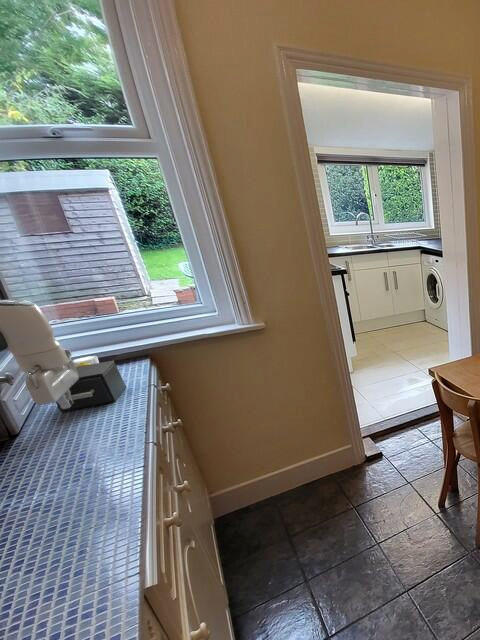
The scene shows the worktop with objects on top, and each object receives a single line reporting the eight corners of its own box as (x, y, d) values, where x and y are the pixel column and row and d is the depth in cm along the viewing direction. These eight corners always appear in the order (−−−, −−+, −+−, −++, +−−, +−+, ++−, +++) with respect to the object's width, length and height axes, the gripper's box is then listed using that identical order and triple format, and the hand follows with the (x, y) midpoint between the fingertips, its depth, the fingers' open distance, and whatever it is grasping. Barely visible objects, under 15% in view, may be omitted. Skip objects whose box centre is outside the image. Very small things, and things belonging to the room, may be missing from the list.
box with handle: (115, 401, 128) (101, 373, 124) (61, 412, 123) (44, 383, 119) (126, 386, 139) (113, 360, 135) (76, 396, 133) (62, 368, 129)
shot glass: (84, 375, 151) (75, 357, 148) (108, 371, 153) (99, 354, 150) (76, 382, 145) (67, 363, 142) (101, 377, 148) (92, 359, 145)
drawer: (107, 406, 123) (95, 382, 120) (55, 416, 118) (41, 392, 115) (121, 387, 137) (110, 365, 133) (75, 395, 131) (63, 373, 128)
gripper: (44, 369, 102) (70, 418, 108) (71, 348, 118) (93, 391, 124) (8, 375, 99) (37, 425, 105) (41, 352, 116) (65, 396, 121)
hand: (68, 406), depth 115 cm, fingers closed
